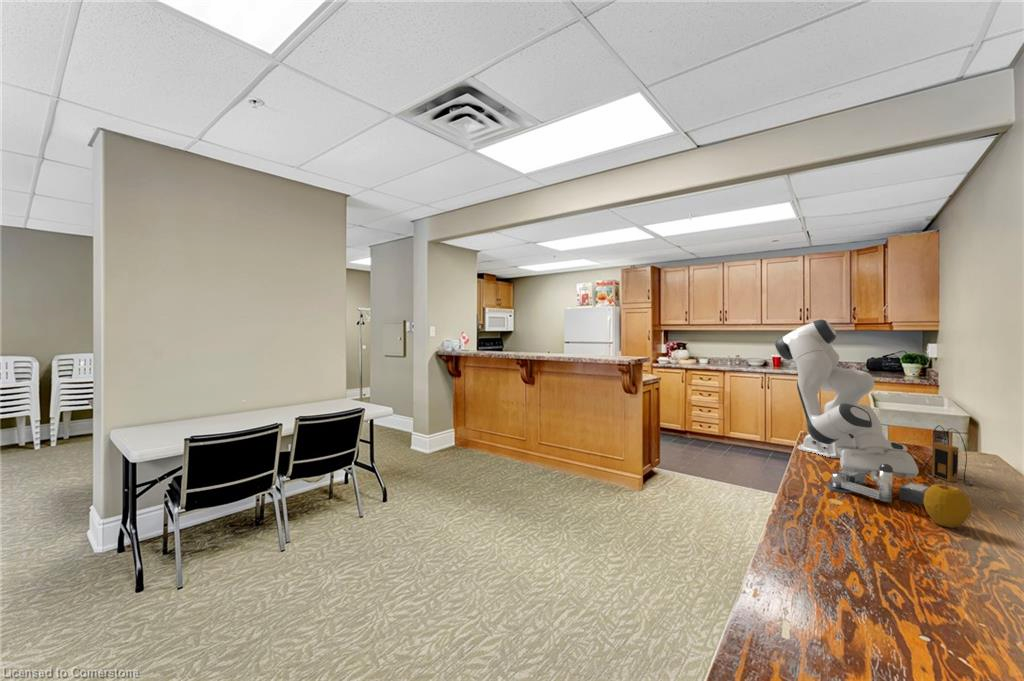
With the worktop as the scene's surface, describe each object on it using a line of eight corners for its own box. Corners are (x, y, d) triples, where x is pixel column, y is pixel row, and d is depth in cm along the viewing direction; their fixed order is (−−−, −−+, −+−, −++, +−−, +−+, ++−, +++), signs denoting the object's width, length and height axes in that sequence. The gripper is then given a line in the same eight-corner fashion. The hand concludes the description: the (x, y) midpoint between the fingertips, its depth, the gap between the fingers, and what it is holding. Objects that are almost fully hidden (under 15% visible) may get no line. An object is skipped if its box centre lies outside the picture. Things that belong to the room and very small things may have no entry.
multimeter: (988, 486, 155) (990, 431, 154) (960, 486, 155) (961, 431, 155) (947, 472, 170) (949, 422, 169) (922, 472, 170) (923, 422, 169)
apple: (971, 525, 123) (973, 485, 123) (970, 536, 117) (971, 493, 117) (924, 514, 131) (926, 476, 130) (920, 524, 124) (922, 483, 124)
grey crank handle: (828, 484, 152) (829, 451, 152) (836, 483, 154) (837, 450, 153) (887, 504, 136) (888, 466, 135) (895, 502, 137) (896, 464, 137)
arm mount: (830, 491, 149) (831, 488, 149) (825, 485, 155) (825, 483, 155) (852, 493, 147) (852, 491, 147) (846, 487, 153) (846, 485, 153)
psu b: (834, 483, 157) (834, 471, 157) (846, 478, 163) (846, 467, 163) (854, 488, 152) (854, 476, 152) (865, 483, 158) (865, 471, 157)
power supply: (899, 499, 143) (899, 486, 143) (909, 493, 148) (910, 481, 148) (923, 505, 138) (924, 492, 137) (933, 499, 143) (933, 486, 143)
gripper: (837, 440, 150) (847, 477, 141) (912, 446, 143) (927, 485, 134) (833, 449, 155) (842, 486, 146) (905, 455, 147) (919, 494, 138)
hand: (883, 486), depth 140 cm, fingers closed, pressing on grey crank handle
